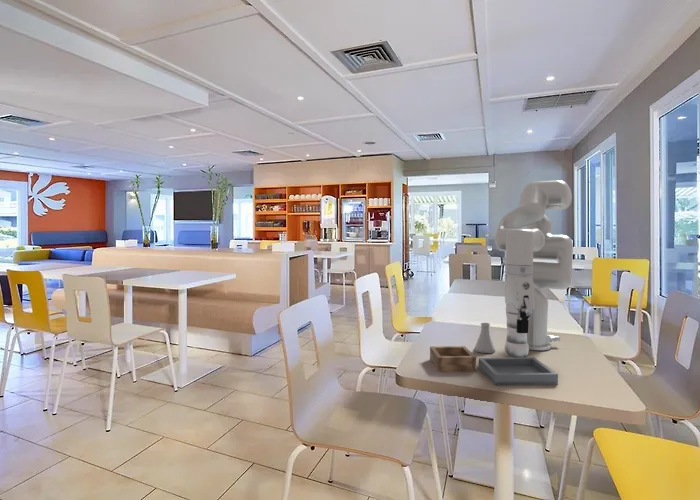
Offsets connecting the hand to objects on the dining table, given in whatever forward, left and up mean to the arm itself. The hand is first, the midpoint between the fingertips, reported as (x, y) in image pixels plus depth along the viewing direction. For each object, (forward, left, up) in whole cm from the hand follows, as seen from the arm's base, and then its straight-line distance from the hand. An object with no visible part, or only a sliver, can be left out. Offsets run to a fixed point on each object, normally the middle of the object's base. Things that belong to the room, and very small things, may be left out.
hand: (517, 329), depth 118 cm
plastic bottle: (0, 0, -9) cm, 9 cm away
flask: (+1, -23, -15) cm, 27 cm away
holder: (+17, -9, -14) cm, 24 cm away
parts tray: (0, 0, -14) cm, 14 cm away
